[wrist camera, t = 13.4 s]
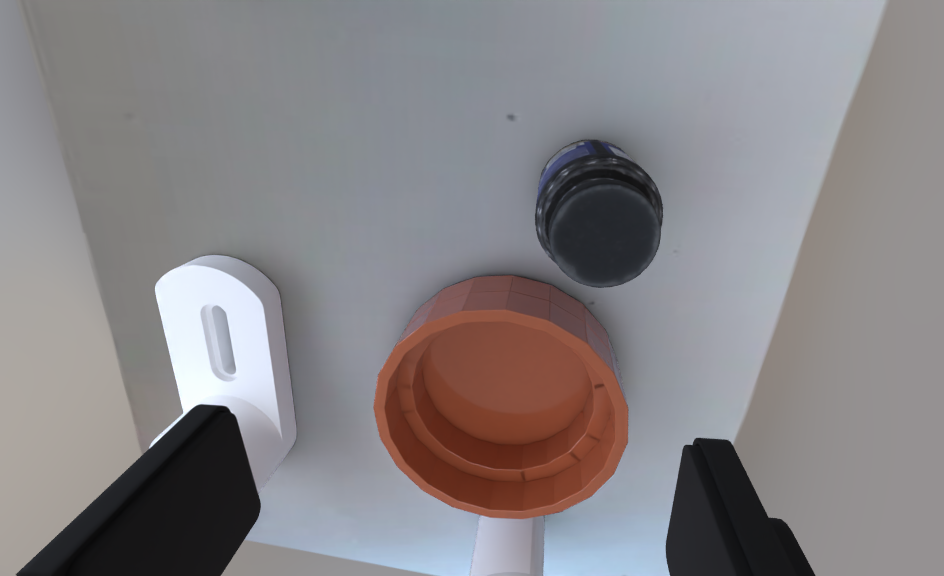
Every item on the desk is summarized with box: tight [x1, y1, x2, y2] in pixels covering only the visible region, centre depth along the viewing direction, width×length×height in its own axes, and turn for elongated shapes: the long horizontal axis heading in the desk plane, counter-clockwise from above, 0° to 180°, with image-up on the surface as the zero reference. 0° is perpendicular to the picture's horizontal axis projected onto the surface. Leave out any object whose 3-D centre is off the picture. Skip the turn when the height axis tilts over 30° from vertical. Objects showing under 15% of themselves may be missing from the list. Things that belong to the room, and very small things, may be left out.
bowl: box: [373, 275, 628, 519], centre depth 34 cm, size 17×17×6 cm
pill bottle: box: [535, 140, 663, 288], centre depth 26 cm, size 6×6×11 cm
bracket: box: [149, 255, 297, 494], centre depth 38 cm, size 20×9×7 cm, turn 177°
